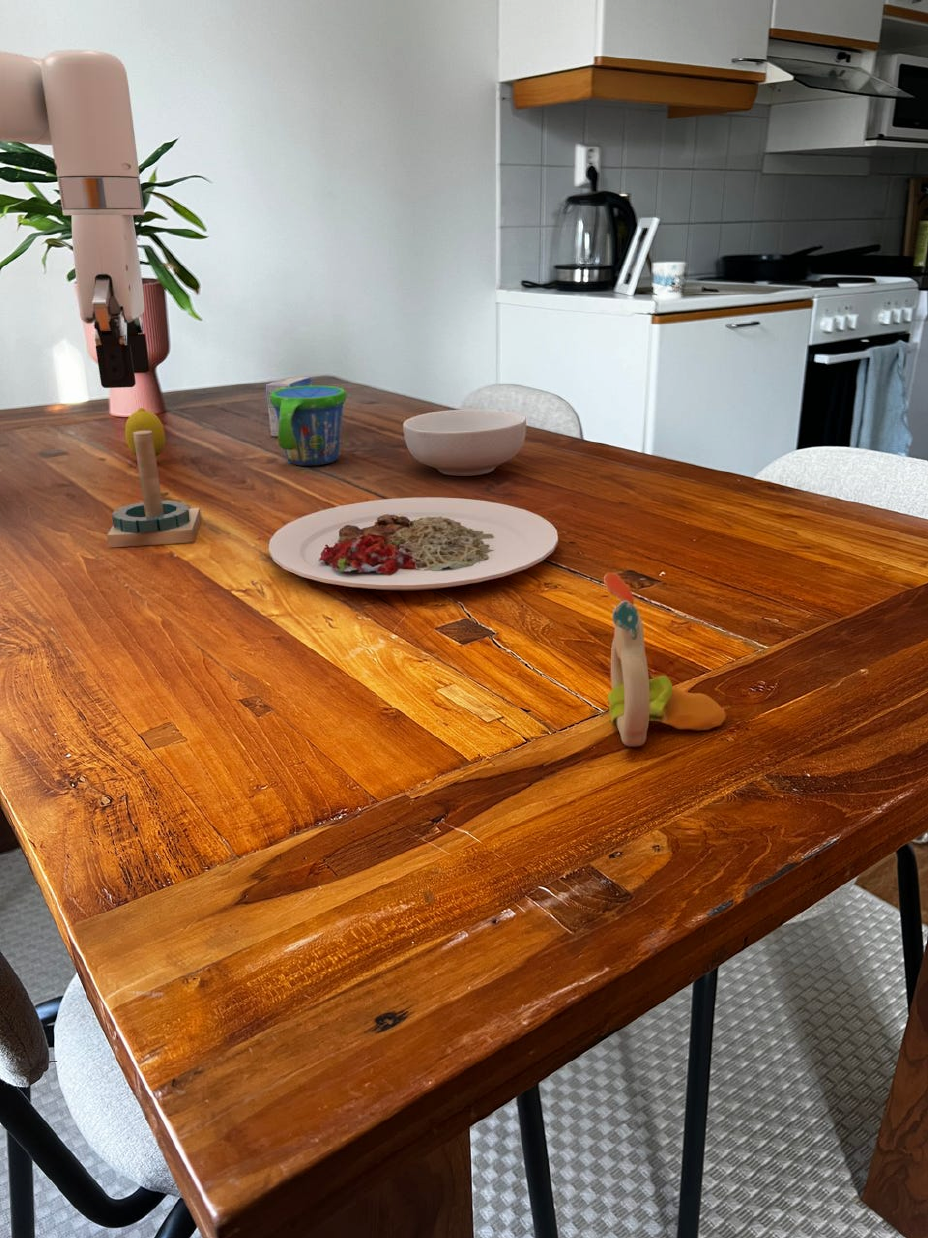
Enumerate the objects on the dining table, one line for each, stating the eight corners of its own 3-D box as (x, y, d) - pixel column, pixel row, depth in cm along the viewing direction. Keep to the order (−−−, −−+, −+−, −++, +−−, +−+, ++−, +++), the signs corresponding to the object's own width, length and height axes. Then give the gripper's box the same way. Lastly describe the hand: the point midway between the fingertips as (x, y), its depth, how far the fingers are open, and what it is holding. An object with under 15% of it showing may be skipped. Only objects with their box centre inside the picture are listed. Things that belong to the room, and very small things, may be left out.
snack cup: (315, 476, 133) (309, 401, 129) (251, 470, 137) (244, 397, 133) (371, 453, 146) (367, 384, 142) (311, 447, 150) (306, 381, 146)
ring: (109, 535, 104) (107, 523, 103) (120, 514, 111) (118, 502, 111) (187, 530, 105) (186, 517, 105) (193, 509, 113) (191, 498, 112)
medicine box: (294, 438, 157) (289, 384, 154) (270, 436, 158) (265, 383, 155) (316, 428, 164) (312, 376, 160) (292, 427, 165) (287, 376, 162)
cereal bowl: (483, 450, 146) (482, 403, 143) (550, 472, 133) (550, 420, 130) (383, 466, 137) (381, 417, 135) (445, 491, 124) (443, 436, 122)
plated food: (587, 524, 110) (588, 495, 108) (507, 620, 84) (507, 584, 82) (349, 504, 119) (347, 477, 118) (212, 585, 93) (207, 552, 92)
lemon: (122, 466, 141) (113, 410, 138) (142, 457, 146) (134, 404, 143) (156, 467, 139) (148, 411, 136) (175, 458, 144) (168, 405, 141)
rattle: (721, 771, 60) (738, 600, 56) (591, 755, 62) (597, 589, 58) (725, 716, 67) (740, 559, 63) (607, 703, 69) (613, 551, 65)
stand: (109, 547, 105) (91, 442, 100) (122, 524, 113) (107, 426, 109) (193, 542, 106) (180, 438, 102) (201, 519, 114) (189, 422, 110)
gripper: (80, 200, 101) (104, 368, 107) (39, 197, 85) (71, 394, 91) (154, 200, 102) (174, 366, 108) (127, 197, 86) (152, 392, 92)
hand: (127, 379), depth 100 cm, fingers open, 9 cm apart
